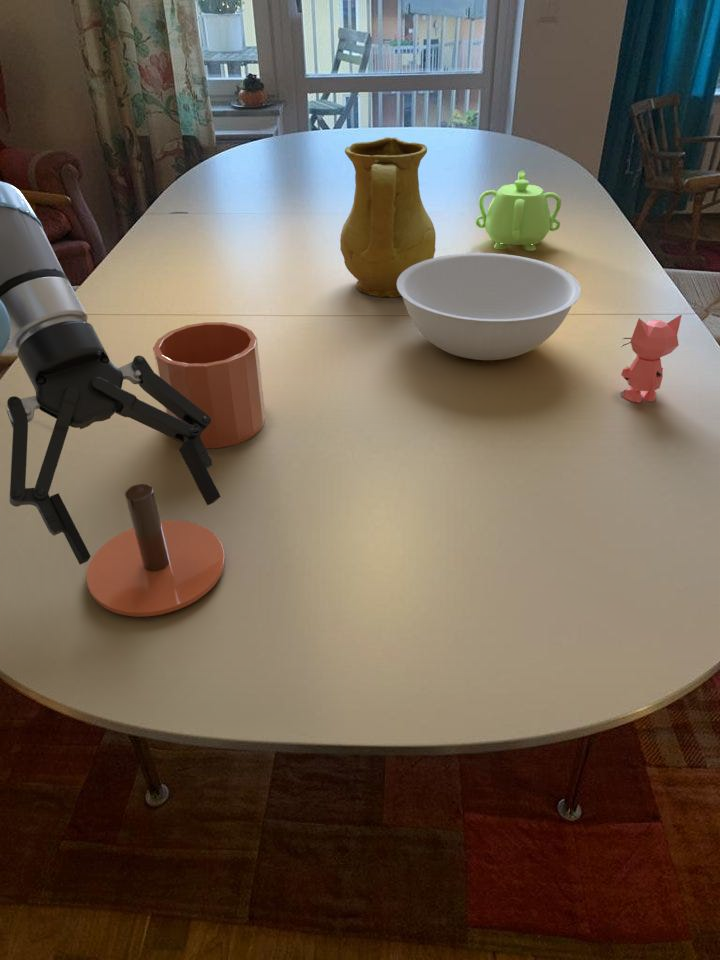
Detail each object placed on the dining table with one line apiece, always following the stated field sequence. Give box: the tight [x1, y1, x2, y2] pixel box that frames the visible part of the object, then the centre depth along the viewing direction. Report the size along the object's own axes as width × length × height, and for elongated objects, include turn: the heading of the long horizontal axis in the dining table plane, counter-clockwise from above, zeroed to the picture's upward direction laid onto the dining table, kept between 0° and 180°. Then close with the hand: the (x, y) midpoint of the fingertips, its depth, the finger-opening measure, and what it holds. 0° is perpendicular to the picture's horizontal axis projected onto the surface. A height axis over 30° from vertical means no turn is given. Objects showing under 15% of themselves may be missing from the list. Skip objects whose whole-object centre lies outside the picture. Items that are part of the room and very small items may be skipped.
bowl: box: [397, 252, 582, 361], centre depth 113 cm, size 27×27×10 cm
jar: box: [152, 321, 266, 449], centre depth 95 cm, size 13×13×12 cm
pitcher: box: [339, 136, 437, 298], centre depth 129 cm, size 17×19×25 cm
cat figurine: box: [620, 313, 683, 404], centre depth 98 cm, size 7×7×12 cm
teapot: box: [475, 169, 562, 252], centre depth 152 cm, size 16×14×13 cm
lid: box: [86, 483, 226, 618], centre depth 72 cm, size 14×14×10 cm
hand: (153, 530), depth 71 cm, fingers open, 13 cm apart
